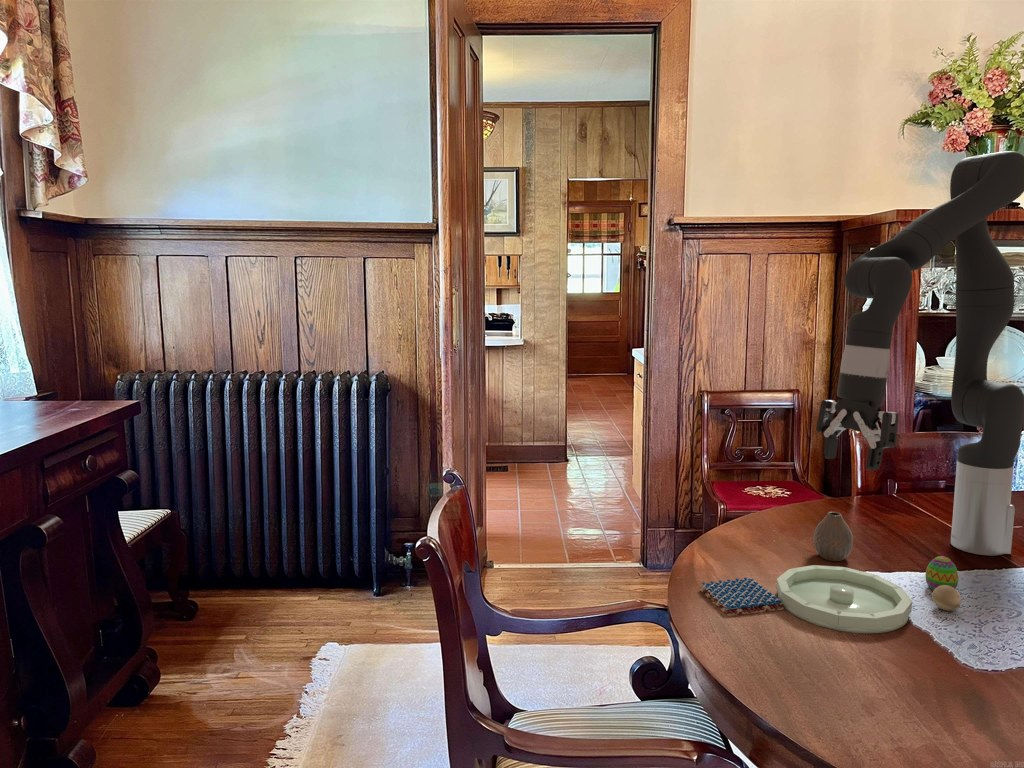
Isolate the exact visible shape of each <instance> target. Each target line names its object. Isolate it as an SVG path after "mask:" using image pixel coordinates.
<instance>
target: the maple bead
mask: <svg viewBox="0 0 1024 768" xmlns="http://www.w3.org/2000/svg"><path fill="white" fill-rule="evenodd" d="M932 591H933V590H932ZM931 596H932V602H933V603H934V605H935V606H936V607H937V608H939V609H940V610H942V609H943V610H942V611H945V610H947V612H949V611H950V612H951V611H955V610H956V609H958V608H959V607H960V605H961V603H962V596H961V595H960V592H959V591H958V590H957V588H956V589H955V588H953V587H951V586H948V585H941V586H938V587H937V588H935V589H934V591H933V592H932V595H931Z"/></svg>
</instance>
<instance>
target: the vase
mask: <svg viewBox="0 0 1024 768" xmlns="http://www.w3.org/2000/svg"><path fill="white" fill-rule="evenodd" d="M853 537H854V536H853V533H852V530H851V528H850V527H849V525H848V523H847V522H846V521H845V519H844V518H843V516H842V513H840V512H838V511H828V512H827V513H826V515H825V516H824V518H823V519H822V520H820V522H818V524H817V525H816V528H814V533H813V546H814V548H815V551H816V553H817V554H818V555H819V557H821V558H822V559H823V560H825V561H831V562H841V561H844V560H845V559H847V558H848V557H849V555H850V554H851V552H852V550H853V546H854V545H853V544H854V538H853Z"/></svg>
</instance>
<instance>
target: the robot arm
mask: <svg viewBox="0 0 1024 768" xmlns="http://www.w3.org/2000/svg"><path fill="white" fill-rule="evenodd" d="M949 182H950V183H949V194H950V200H948V201H945V202H944V203H942V204H940V205H938V206H936V207H933V208H932V209H930V210H928V211H926V212H923V214H921V215H919V216H918V217H916V218H915V219H913V220H912V221H911V222H909V223H908V224H907V225H906V226H905V227H904V228H903V229H902V230H900V231H899V232H897V234H896V235H895V236H893V238H891V239H890V240H888V241H885V242H883V243H881V244H879V245H878V246H876V247H873V248H872V249H870V250H868V251H866V252H865V253H863V254H861V255H860V256H859V257H858V258H856V259H855V260H854V261H853V262H852V263H851V264H850V266H849V267H848V268H847V271H846V273H845V276H844V286H845V288H846V290H847V291H848V293H849V294H850V295H852V296H854V297H856V298H859V299H872V300H871V301H870V304H869V306H868V308H867V309H865V310H863V311H859V312H856V313H853V314H852V315H851V316H850V318H849V321H848V326H847V332H846V339H845V345H844V349H843V353H842V356H841V357H842V358H841V362H840V370H839V375H838V376H839V377H838V384H837V388H836V389H837V390H836V395H837V398H838V399H837V402H836V400H833V399H823V400H822V401H821V403H820V407H819V412H818V417H817V423H816V428H815V429H816V430H815V431H817V432H818V433H820V434H822V435H823V436H824V444H823V445H824V446H823V451H822V452H823V455H824V458H825V459H828V460H835V459H836V458H837V454H838V446H839V438H838V436H840V435H841V434H842V432H844V431H846V430H853V431H855V432H859V433H862V435H863V438H865V439H866V441H867V442H868V445H869V447H868V450H867V451H868V452H867V458H866V459H867V460H866V464H865V469H866V470H868V471H877V470H878V469H879V468H880V467H881V464H882V459H883V458H882V457H883V451H884V449H887V448H894V447H896V445H897V438H898V437H897V435H898V426H899V413H898V412H896V411H882V404H883V403H884V401H885V395H886V388H887V383H888V382H887V381H888V378H889V376H888V375H889V369H890V363H891V362H890V360H891V359H890V358H891V357H890V355H891V353H890V352H891V346H892V340H893V339H892V338H893V332H894V327H895V324H896V321H897V319H898V317H899V315H900V313H901V310H902V309H903V307H904V304H905V303H906V300H907V297H908V295H909V293H910V290H911V287H912V283H913V273H912V272H914V271H917V270H919V269H920V268H922V267H924V266H925V265H926V264H927V263H929V262H930V261H931V260H932V259H933V258H934V257H935V256H936V255H938V254H939V253H940V252H941V251H942V250H943V249H944V248H945V247H947V246H948V245H949V244H950V243H952V242H953V241H954V242H955V245H954V246H955V273H956V274H955V276H956V277H955V314H956V315H955V317H956V318H955V319H956V329H955V330H956V332H955V334H956V336H955V354H954V355H955V358H954V366H953V367H954V368H953V376H952V385H951V393H950V394H951V396H950V403H951V410H952V414H953V416H954V418H955V419H956V421H957V422H959V423H962V424H964V425H966V426H971V427H972V426H973V427H977V428H981V429H983V430H982V434H981V438H980V440H979V441H977V442H970V443H964V444H961V445H960V446H959V447H958V449H957V458H956V470H955V483H954V495H953V496H954V497H953V510H952V519H951V521H952V522H951V532H950V544H951V546H953V547H954V548H956V549H958V550H960V551H963V552H965V553H966V552H967V553H970V554H974V555H981V556H990V557H991V556H1001V555H1006V554H1007V555H1010V554H1012V545H1013V544H1012V543H1013V533H1014V521H1015V511H1016V510H1015V505H1014V504H1012V503H1011V499H1012V487H1013V486H1012V485H1013V477H1014V476H1013V474H1014V465H1015V459H1016V456H1017V454H1018V453H1019V452H1018V451H1019V449H1020V446H1021V439H1022V433H1023V425H1024V393H1023V390H1022V389H1021V388H1020V387H1019V386H1018V385H1016V384H1014V383H1008V382H1003V381H995V380H989V379H988V361H989V356H990V352H991V350H992V348H993V346H994V344H995V343H996V341H997V339H998V338H999V337H1000V335H1001V334H1002V333H1003V331H1004V330H1005V328H1006V326H1008V324H1009V322H1010V320H1011V318H1012V316H1013V314H1014V310H1015V309H1014V308H1015V276H1014V273H1013V270H1012V268H1011V267H1010V265H1009V263H1008V261H1007V260H1006V258H1005V257H1004V255H1003V254H1002V253H1001V251H1000V250H999V248H998V247H997V245H996V243H995V242H994V240H993V238H992V236H991V234H990V230H989V227H988V219H987V218H988V217H990V216H991V215H993V214H994V213H996V212H997V211H999V210H1001V209H1003V208H1005V207H1006V206H1008V205H1010V204H1011V203H1013V202H1014V201H1015V200H1018V198H1020V197H1021V196H1022V195H1023V194H1024V155H1023V154H1022V153H1020V152H1018V151H1014V150H1013V151H1011V150H1010V151H1009V150H1006V151H1005V150H1004V151H997V152H991V153H986V154H980V155H979V154H978V155H974V156H969V157H965V158H962V159H961V160H959V161H958V162H957V163H956V164H955V166H954V168H953V170H952V173H951V176H950V181H949ZM835 412H836V415H837V416H836V417H834V415H835ZM878 422H880V424H881V428H880V426H879V423H878Z"/></svg>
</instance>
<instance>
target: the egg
mask: <svg viewBox="0 0 1024 768" xmlns="http://www.w3.org/2000/svg"><path fill="white" fill-rule="evenodd" d="M924 577H925V582H926V584H927V586H928V588H929V587H930V588H931V589H933V590H934V589H935V588H937V587H938V586H941V585H948V586H951V587H953V588H955V589H956V590H957V587H958V586H959V579H960V578H959V572H958V569H957V566H956V564H955V562H953V561H952V559H950V558H949V557H947V556H944V555H939V556H936V557H934V558H933V559H932V560H930V562H929V564H928V565H927V567H926V570H925V575H924ZM930 588H929V589H930ZM931 589H930V590H931ZM933 590H932V591H933Z"/></svg>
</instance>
